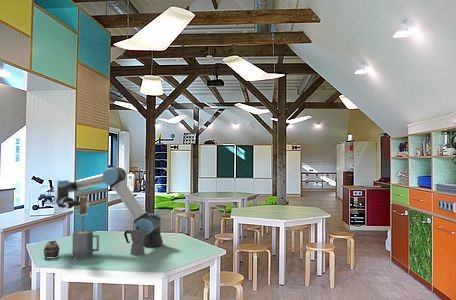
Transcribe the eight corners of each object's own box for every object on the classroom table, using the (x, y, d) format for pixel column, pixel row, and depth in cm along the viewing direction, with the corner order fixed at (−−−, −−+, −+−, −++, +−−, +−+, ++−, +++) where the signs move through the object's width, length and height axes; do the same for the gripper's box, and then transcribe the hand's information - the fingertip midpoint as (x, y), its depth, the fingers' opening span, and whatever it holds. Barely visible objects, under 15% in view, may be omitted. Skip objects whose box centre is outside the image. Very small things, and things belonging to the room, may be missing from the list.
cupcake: (41, 256, 250) (41, 241, 251) (57, 254, 256) (57, 239, 256) (45, 259, 243) (45, 243, 243) (61, 257, 249) (61, 241, 249)
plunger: (92, 232, 252) (92, 196, 253) (82, 234, 245) (82, 197, 245) (83, 231, 255) (83, 196, 256) (73, 233, 248) (73, 197, 249)
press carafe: (100, 255, 252) (100, 231, 252) (85, 260, 240) (85, 234, 240) (83, 253, 258) (83, 229, 259) (67, 257, 247) (67, 232, 247)
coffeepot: (147, 251, 264) (147, 224, 264) (148, 254, 255) (148, 227, 255) (123, 252, 259) (123, 226, 260) (124, 256, 250) (124, 228, 251)
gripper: (85, 206, 280) (96, 209, 264) (48, 209, 264) (58, 212, 248) (85, 196, 280) (96, 198, 264) (48, 198, 264) (58, 201, 248)
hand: (78, 205), depth 256 cm, fingers open, 13 cm apart
